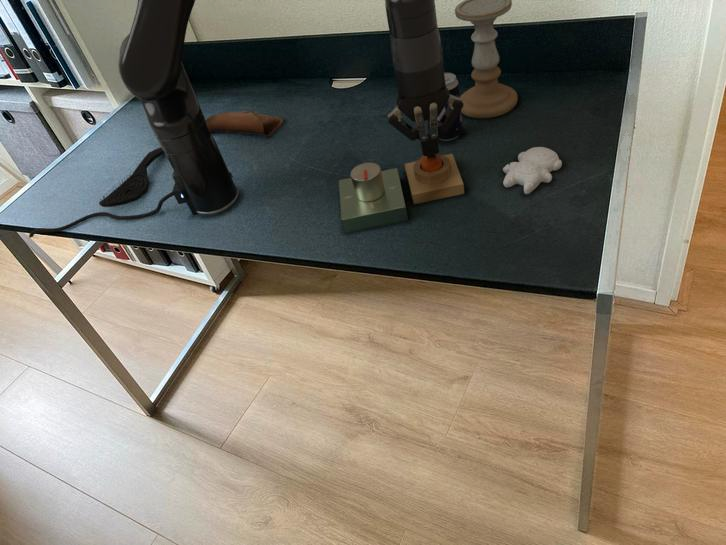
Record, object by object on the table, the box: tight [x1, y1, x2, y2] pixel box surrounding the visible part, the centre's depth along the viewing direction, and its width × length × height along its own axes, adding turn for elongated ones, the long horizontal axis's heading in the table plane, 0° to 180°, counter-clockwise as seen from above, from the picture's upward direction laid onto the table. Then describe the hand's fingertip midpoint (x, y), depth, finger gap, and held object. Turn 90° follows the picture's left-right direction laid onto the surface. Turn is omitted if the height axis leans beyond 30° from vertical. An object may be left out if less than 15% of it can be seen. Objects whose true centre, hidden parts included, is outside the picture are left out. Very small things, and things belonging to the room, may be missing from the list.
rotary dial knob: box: [349, 162, 385, 202], centre depth 92 cm, size 5×5×5 cm
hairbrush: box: [98, 146, 165, 208], centre depth 119 cm, size 8×4×25 cm
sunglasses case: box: [206, 110, 284, 137], centre depth 127 cm, size 18×7×7 cm
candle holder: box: [454, 0, 519, 119], centre depth 106 cm, size 12×12×20 cm
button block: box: [404, 153, 465, 205], centre depth 96 cm, size 9×10×4 cm
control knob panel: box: [338, 167, 409, 234], centre depth 95 cm, size 11×12×3 cm
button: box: [420, 153, 442, 172], centre depth 94 cm, size 4×4×2 cm
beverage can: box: [437, 72, 464, 142], centre depth 103 cm, size 6×6×12 cm
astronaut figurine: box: [502, 146, 563, 195], centre depth 92 cm, size 9×12×3 cm
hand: (430, 155), depth 93 cm, fingers closed
